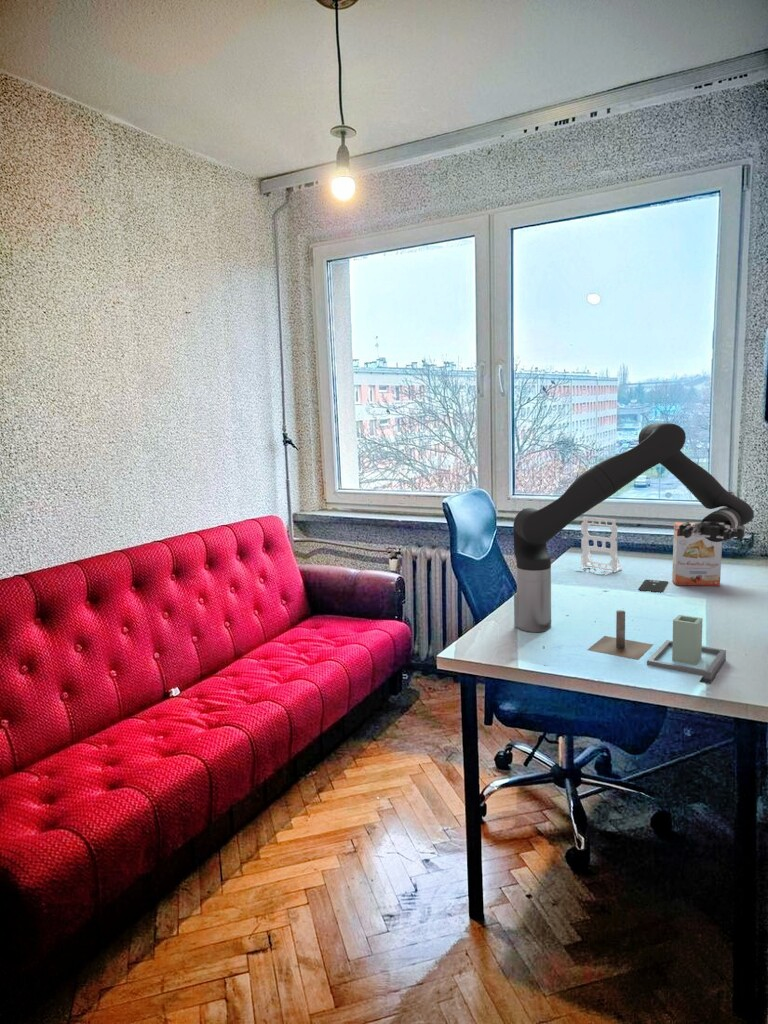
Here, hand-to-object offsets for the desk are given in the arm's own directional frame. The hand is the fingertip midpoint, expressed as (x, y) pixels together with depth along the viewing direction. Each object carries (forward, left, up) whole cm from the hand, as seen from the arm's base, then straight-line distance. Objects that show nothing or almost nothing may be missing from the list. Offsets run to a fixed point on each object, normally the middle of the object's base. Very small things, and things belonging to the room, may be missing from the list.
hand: (705, 535), depth 151 cm
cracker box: (-15, +62, -28) cm, 70 cm away
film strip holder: (-50, +66, -28) cm, 87 cm away
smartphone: (-26, +52, -29) cm, 65 cm away
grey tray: (0, -15, -28) cm, 32 cm away
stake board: (-15, -15, -28) cm, 35 cm away
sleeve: (0, -15, -27) cm, 31 cm away
